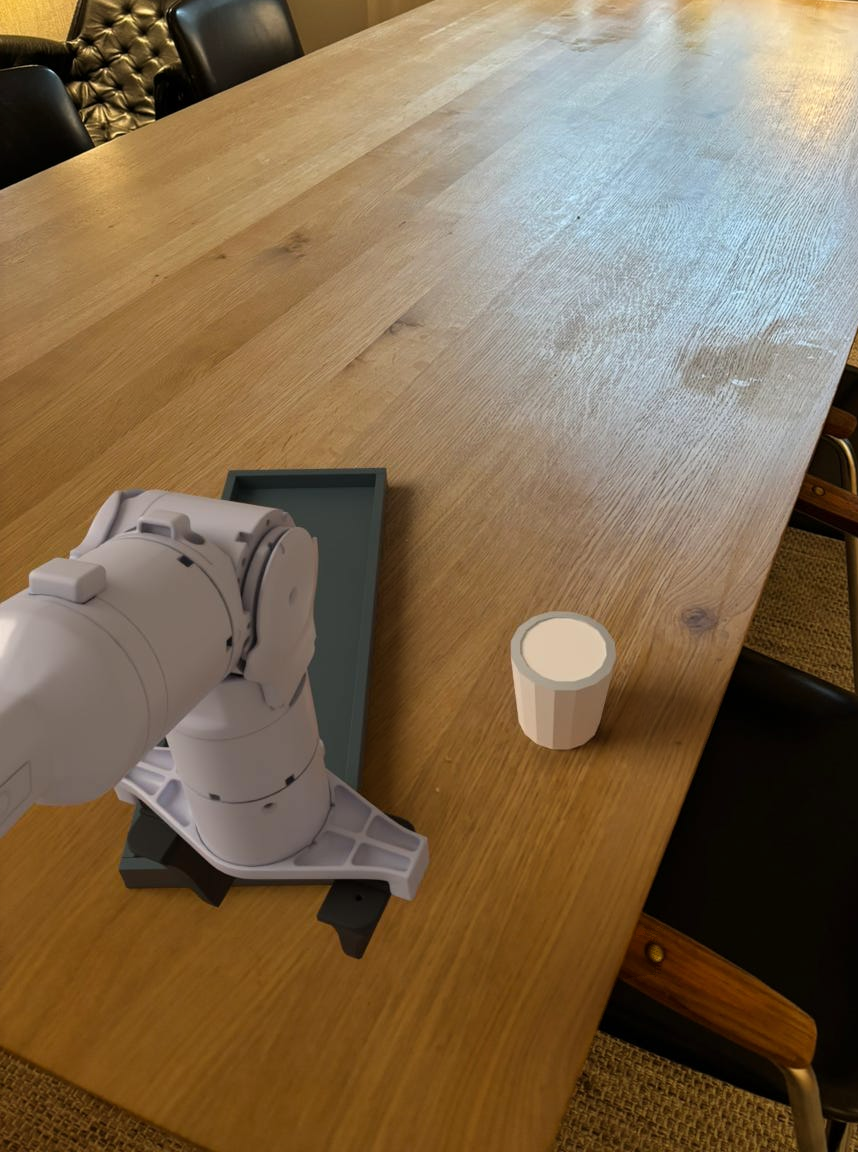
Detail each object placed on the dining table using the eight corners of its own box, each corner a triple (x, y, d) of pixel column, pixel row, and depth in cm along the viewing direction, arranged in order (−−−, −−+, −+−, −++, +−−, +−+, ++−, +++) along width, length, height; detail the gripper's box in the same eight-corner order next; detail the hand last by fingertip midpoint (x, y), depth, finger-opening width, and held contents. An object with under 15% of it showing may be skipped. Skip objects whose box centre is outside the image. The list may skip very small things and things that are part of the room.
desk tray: (353, 884, 61) (350, 865, 60) (125, 888, 61) (117, 869, 60) (387, 486, 90) (386, 467, 88) (232, 488, 90) (228, 470, 88)
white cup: (489, 726, 70) (489, 658, 65) (543, 663, 74) (546, 595, 70) (576, 774, 67) (582, 706, 62) (626, 705, 71) (635, 637, 67)
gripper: (451, 716, 42) (459, 887, 51) (150, 628, 46) (206, 802, 55) (380, 864, 37) (403, 1025, 46) (49, 751, 41) (129, 920, 50)
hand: (291, 912), depth 50 cm, fingers open, 7 cm apart
